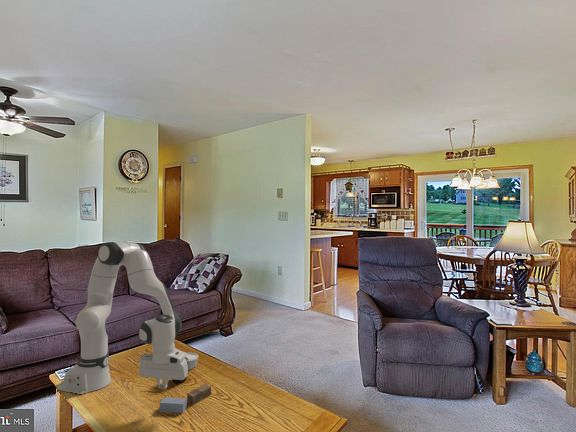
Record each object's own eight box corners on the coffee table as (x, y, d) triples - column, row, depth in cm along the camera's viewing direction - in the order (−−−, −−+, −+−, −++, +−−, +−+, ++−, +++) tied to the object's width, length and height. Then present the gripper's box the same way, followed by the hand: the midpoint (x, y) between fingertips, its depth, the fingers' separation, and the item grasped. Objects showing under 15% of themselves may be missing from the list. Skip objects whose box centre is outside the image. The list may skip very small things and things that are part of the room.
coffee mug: (182, 386, 154) (182, 365, 154) (166, 384, 156) (166, 363, 156) (194, 374, 165) (194, 354, 165) (179, 372, 167) (179, 353, 167)
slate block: (159, 402, 134) (183, 404, 134) (164, 397, 138) (186, 398, 138) (159, 412, 134) (183, 413, 134) (163, 406, 138) (186, 407, 138)
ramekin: (201, 362, 178) (201, 353, 178) (192, 372, 167) (192, 362, 167) (182, 360, 180) (182, 351, 180) (172, 370, 169) (172, 360, 169)
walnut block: (193, 396, 139) (211, 386, 147) (187, 393, 141) (205, 383, 149) (192, 405, 139) (211, 395, 147) (187, 402, 141) (205, 392, 149)
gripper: (135, 356, 134) (135, 389, 134) (183, 360, 132) (182, 393, 132) (144, 350, 140) (143, 381, 140) (189, 353, 138) (189, 385, 138)
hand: (163, 387), depth 136 cm, fingers closed
